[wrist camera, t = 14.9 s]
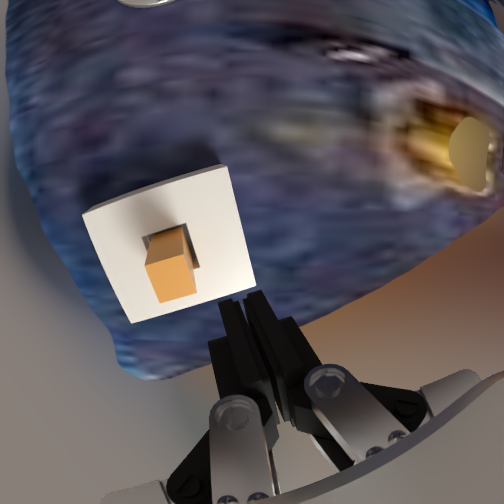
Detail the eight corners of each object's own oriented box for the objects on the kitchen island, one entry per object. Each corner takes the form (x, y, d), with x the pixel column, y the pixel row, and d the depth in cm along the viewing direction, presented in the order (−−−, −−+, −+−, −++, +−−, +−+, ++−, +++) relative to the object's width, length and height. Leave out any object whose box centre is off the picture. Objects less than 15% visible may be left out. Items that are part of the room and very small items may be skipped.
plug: (152, 232, 34) (144, 265, 25) (182, 223, 34) (183, 254, 25) (163, 263, 36) (159, 303, 27) (191, 254, 36) (196, 293, 27)
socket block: (92, 206, 32) (81, 214, 28) (221, 163, 34) (226, 166, 30) (134, 305, 39) (131, 323, 35) (248, 271, 41) (256, 285, 37)
